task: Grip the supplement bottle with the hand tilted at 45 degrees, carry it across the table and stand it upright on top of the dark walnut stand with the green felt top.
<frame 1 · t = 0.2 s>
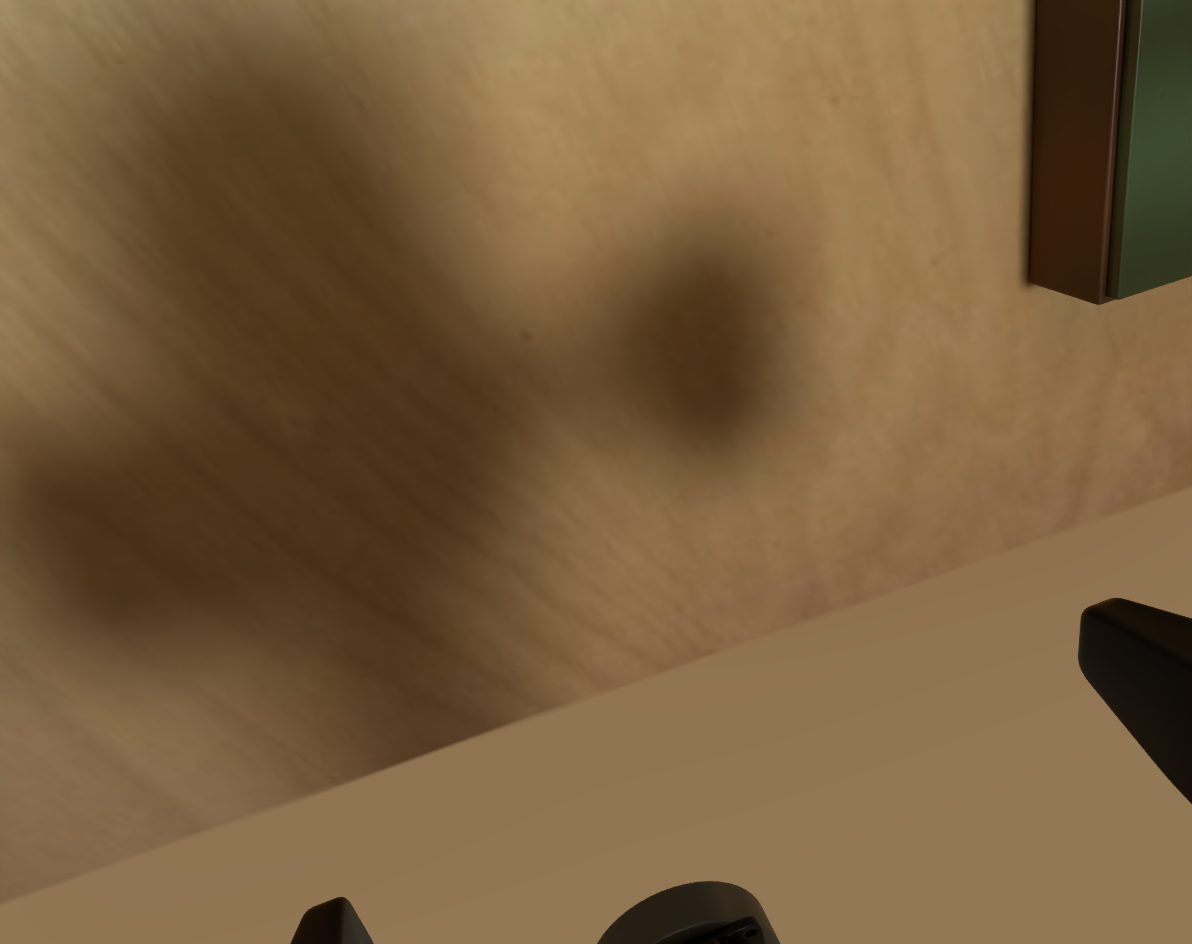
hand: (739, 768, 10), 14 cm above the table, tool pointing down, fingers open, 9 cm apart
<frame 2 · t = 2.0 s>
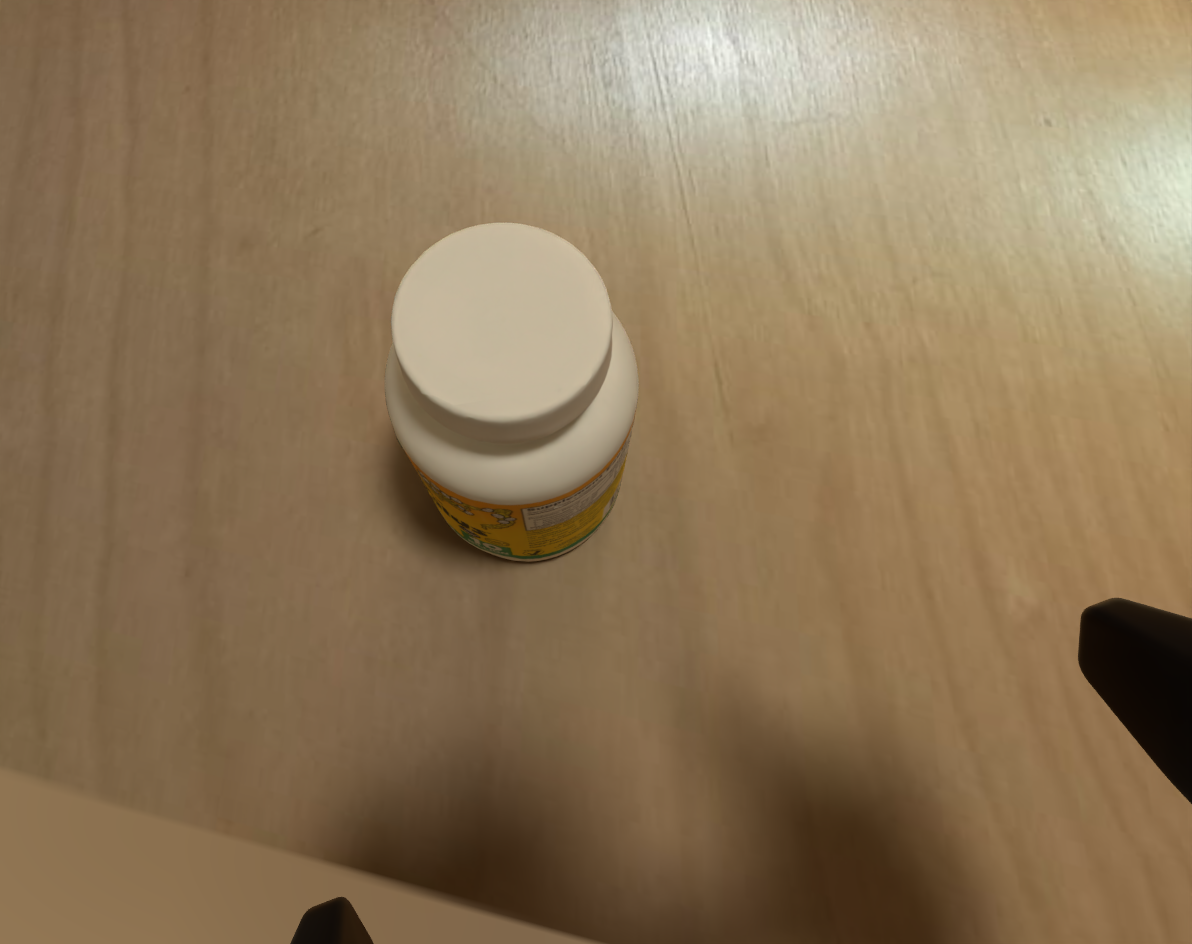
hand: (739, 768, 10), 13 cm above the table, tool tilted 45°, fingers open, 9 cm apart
supplement bottle: (526, 473, 25), on the table
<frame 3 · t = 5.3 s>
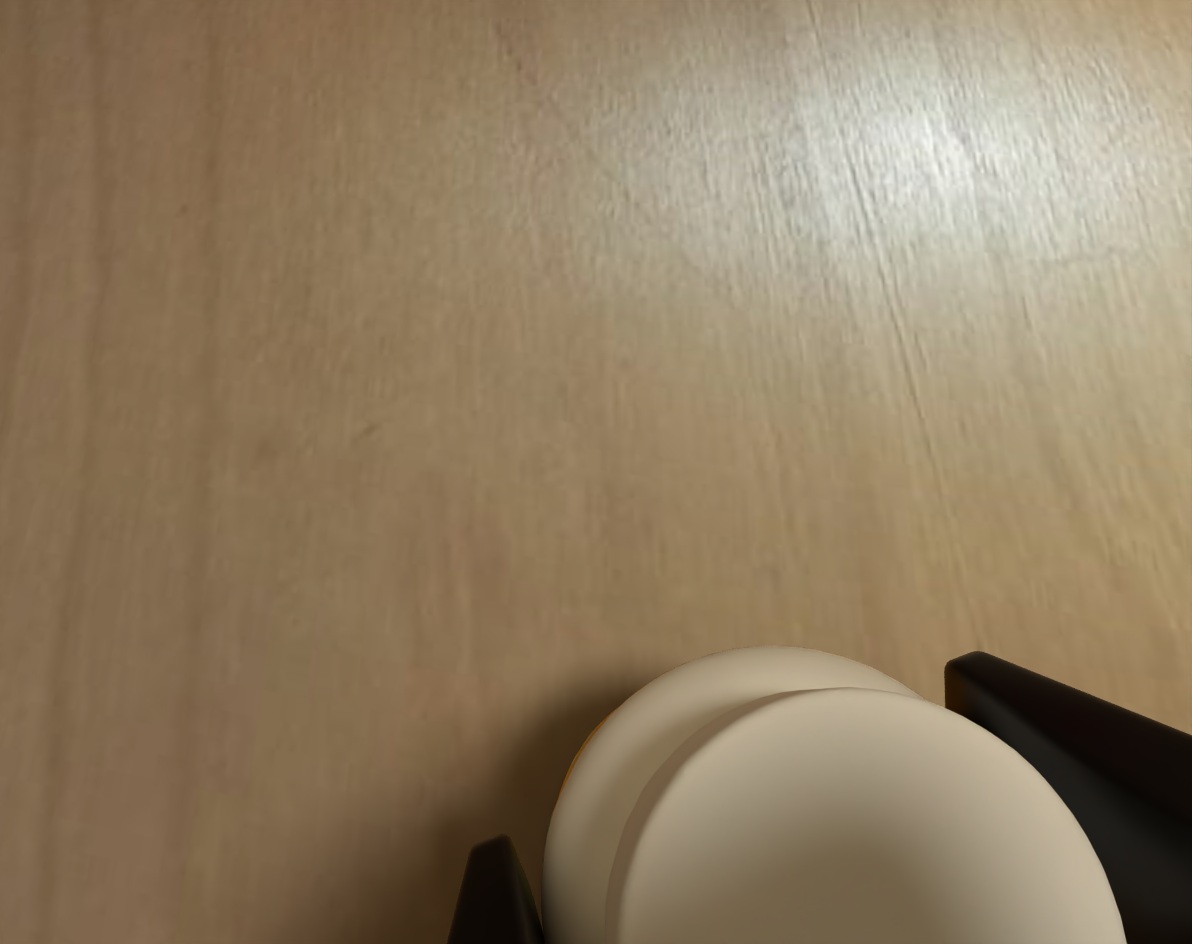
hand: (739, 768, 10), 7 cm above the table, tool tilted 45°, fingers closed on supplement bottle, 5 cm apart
supplement bottle: (697, 832, 16), on the table, touching gripper
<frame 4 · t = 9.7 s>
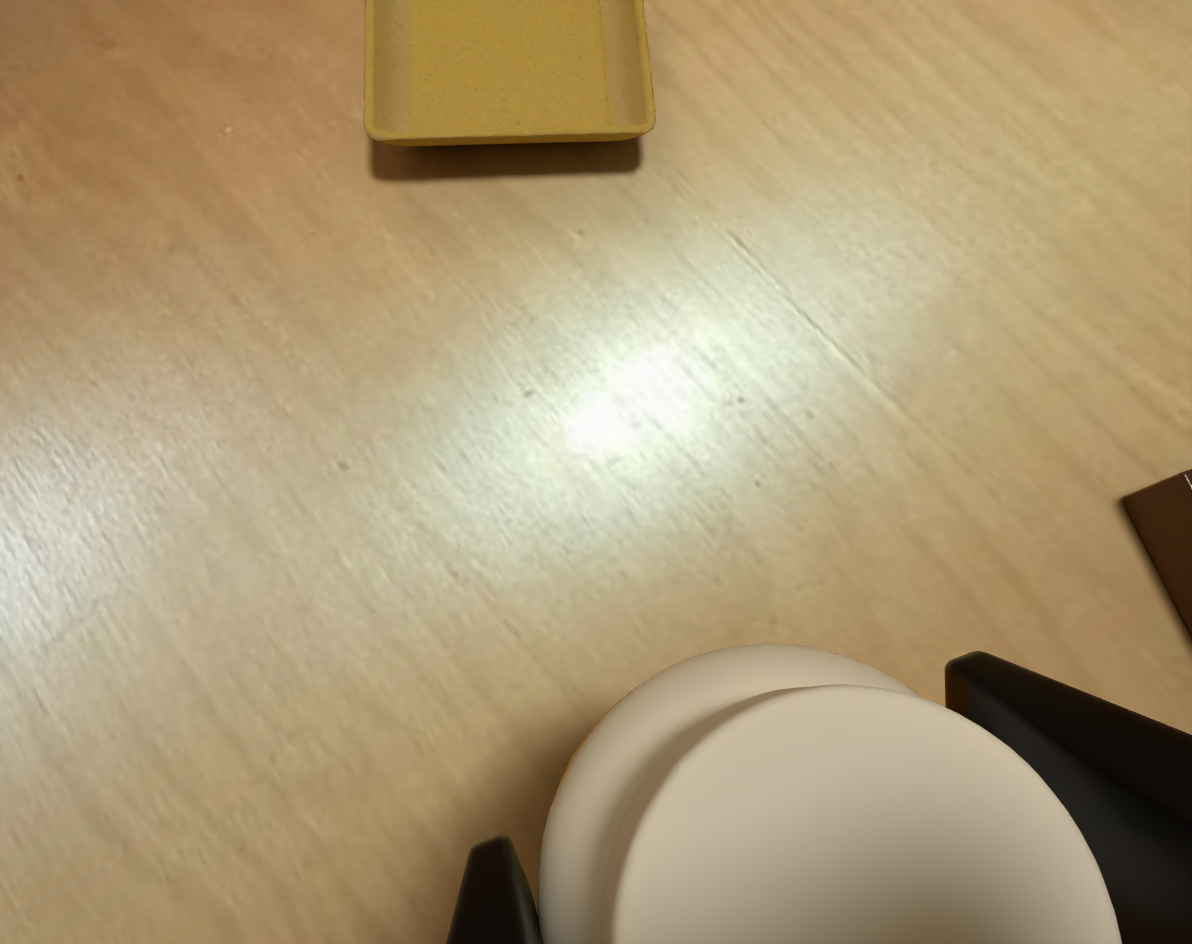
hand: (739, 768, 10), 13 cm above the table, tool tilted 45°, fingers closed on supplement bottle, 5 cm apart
supplement bottle: (695, 831, 16), point 6 cm above the table, touching gripper
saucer: (510, 70, 29), on the table
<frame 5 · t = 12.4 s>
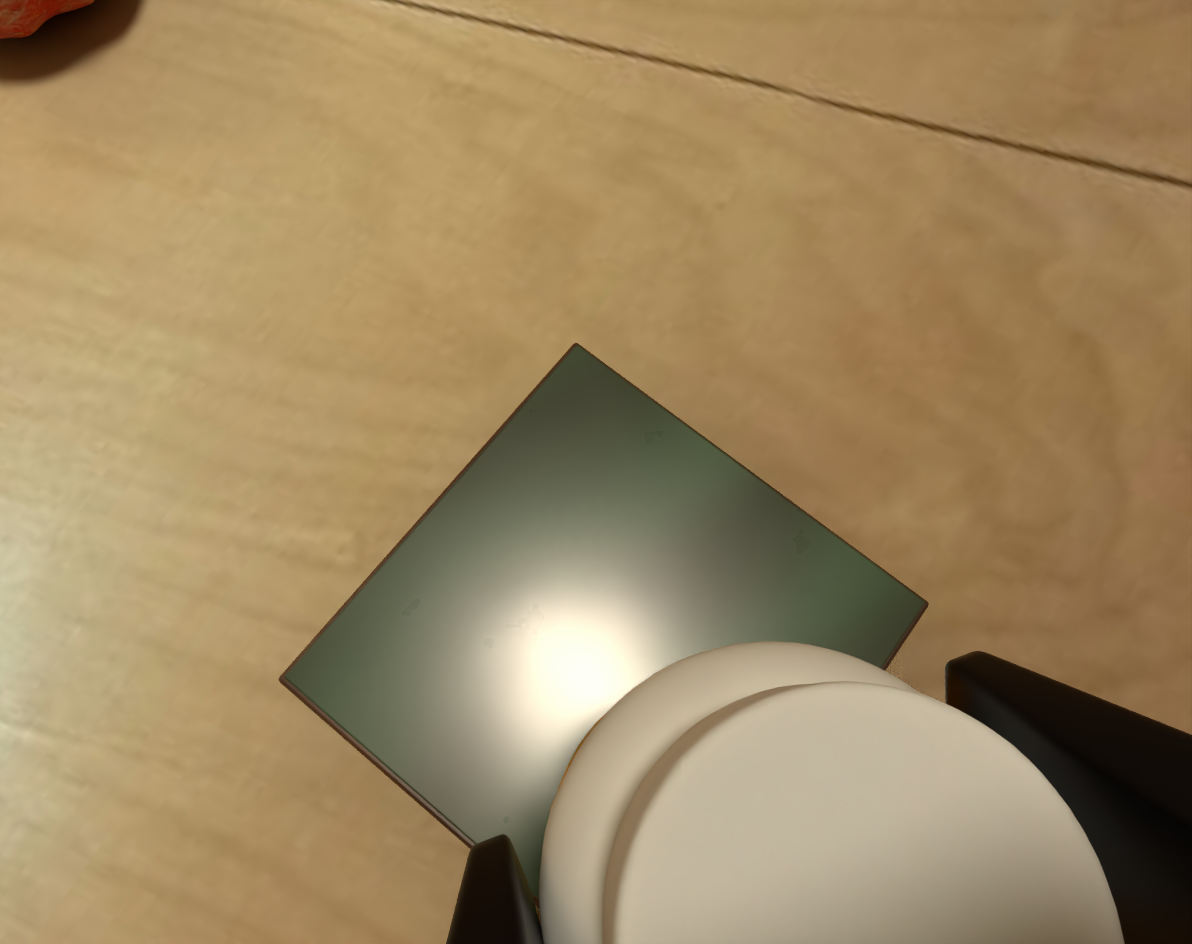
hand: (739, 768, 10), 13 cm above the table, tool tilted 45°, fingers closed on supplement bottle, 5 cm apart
supplement bottle: (696, 829, 16), point 6 cm above the table, touching gripper
stand: (606, 650, 23), on the table
when the fingers open (10 cm above the table, at t = 14.4 s): supplement bottle stays where it is, resting on stand.
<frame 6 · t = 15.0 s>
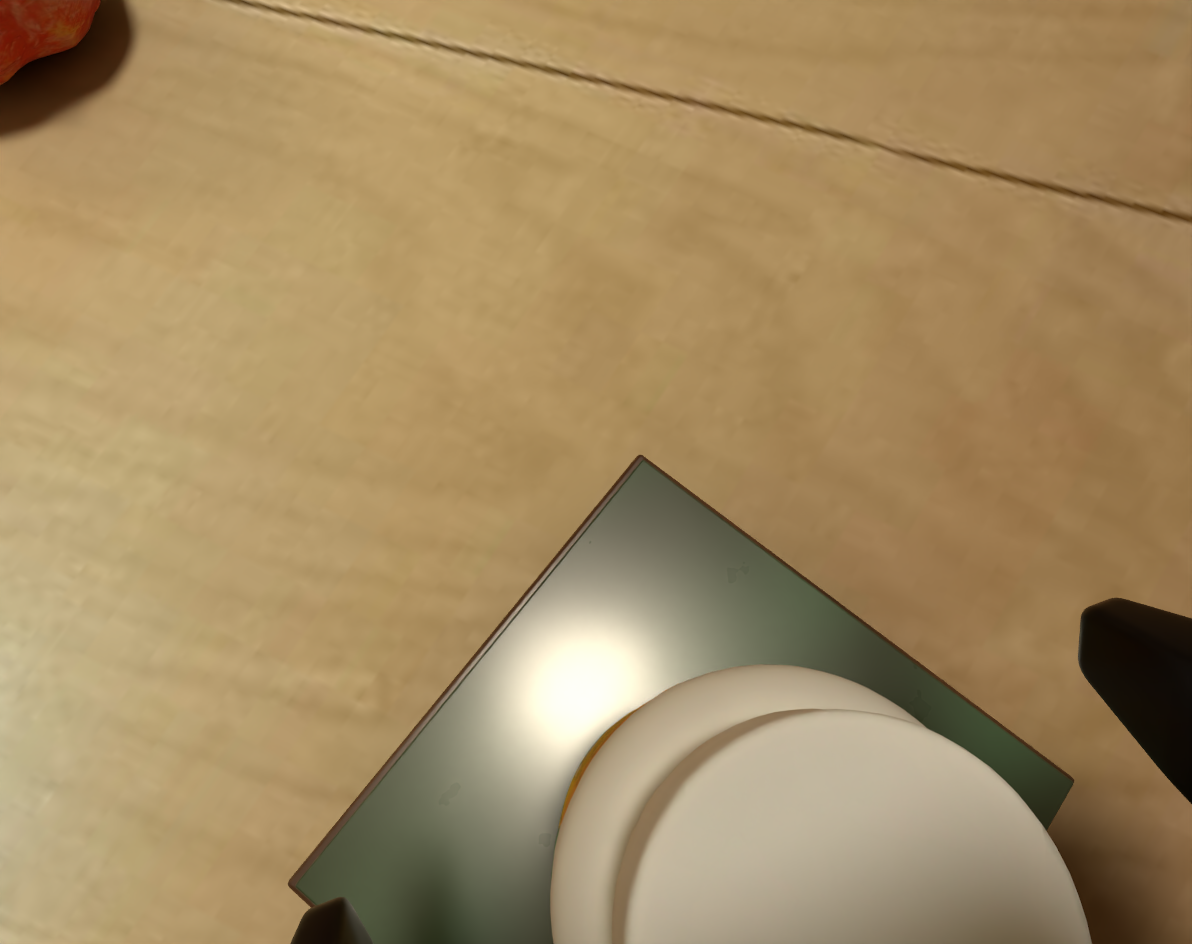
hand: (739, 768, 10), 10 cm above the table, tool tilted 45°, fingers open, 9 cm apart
supplement bottle: (697, 838, 16), point 3 cm above the table, touching stand
stand: (676, 819, 19), on the table
pomegranate: (8, 36, 25), on the table
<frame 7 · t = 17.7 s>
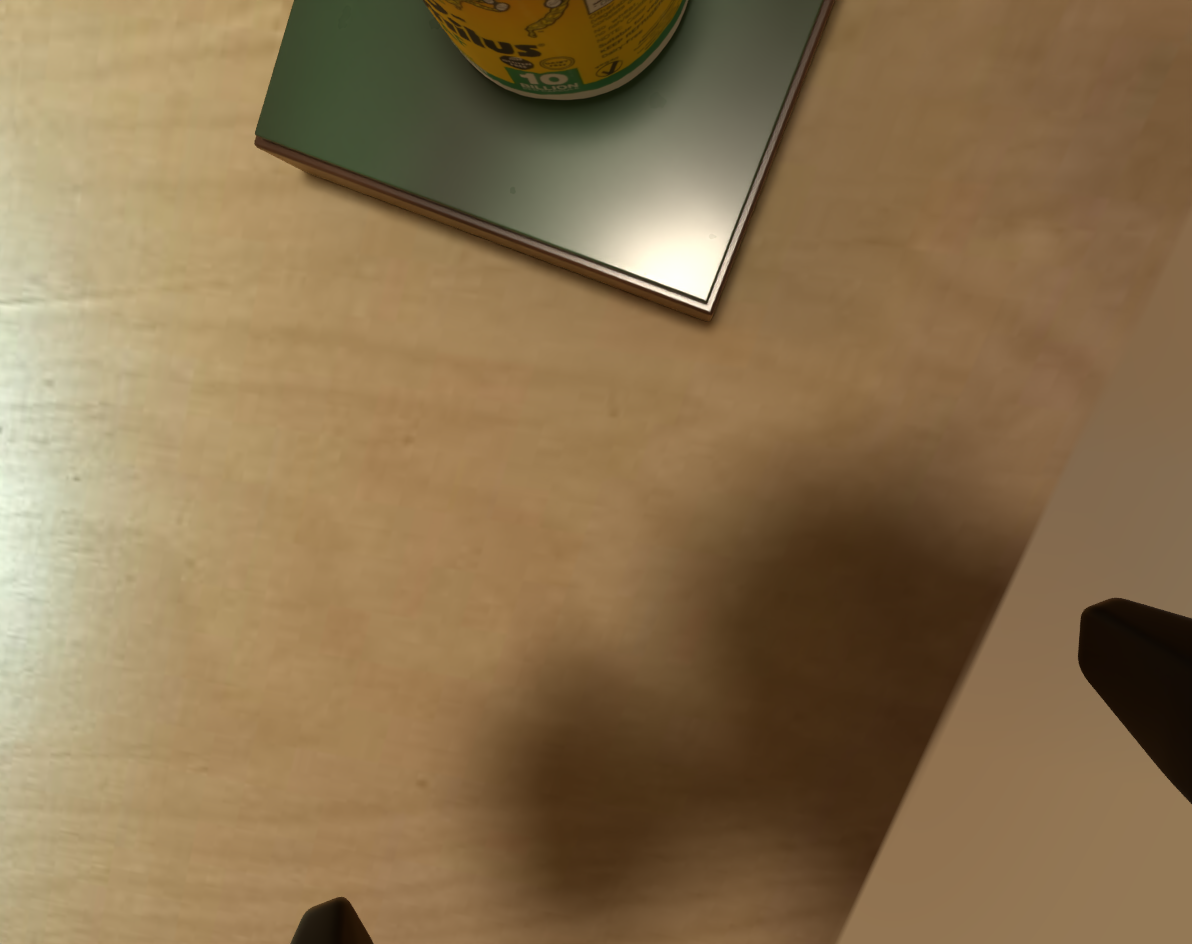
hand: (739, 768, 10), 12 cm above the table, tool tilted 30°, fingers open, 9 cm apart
stand: (579, 25, 21), on the table
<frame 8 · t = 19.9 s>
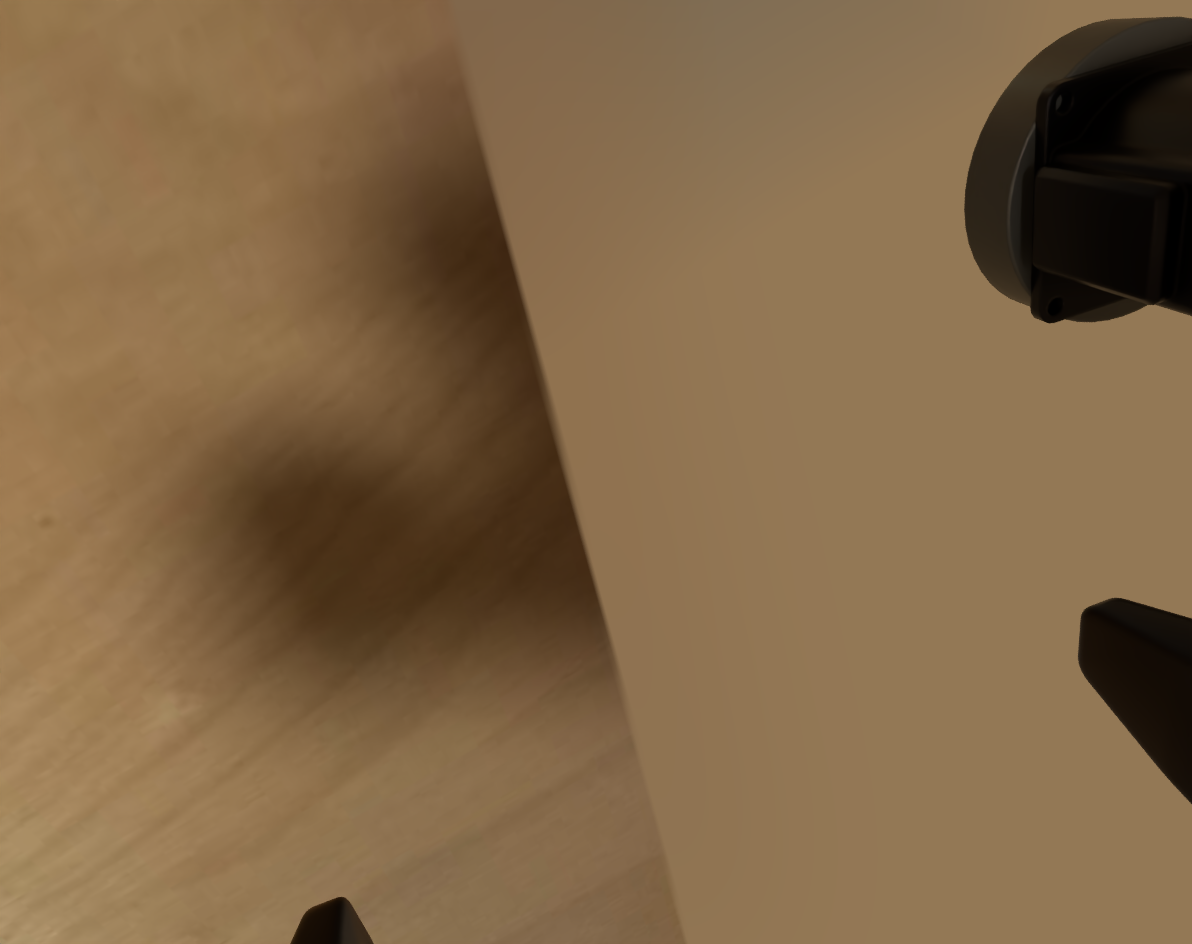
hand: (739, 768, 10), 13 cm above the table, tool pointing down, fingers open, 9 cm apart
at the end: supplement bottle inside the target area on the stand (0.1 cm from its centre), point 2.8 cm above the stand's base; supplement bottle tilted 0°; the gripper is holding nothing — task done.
